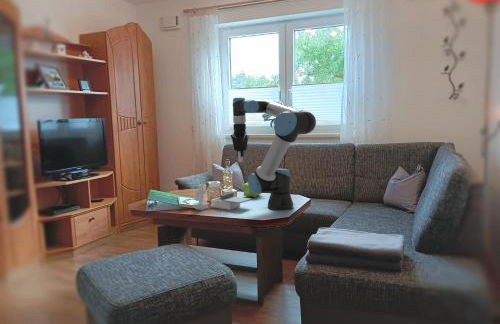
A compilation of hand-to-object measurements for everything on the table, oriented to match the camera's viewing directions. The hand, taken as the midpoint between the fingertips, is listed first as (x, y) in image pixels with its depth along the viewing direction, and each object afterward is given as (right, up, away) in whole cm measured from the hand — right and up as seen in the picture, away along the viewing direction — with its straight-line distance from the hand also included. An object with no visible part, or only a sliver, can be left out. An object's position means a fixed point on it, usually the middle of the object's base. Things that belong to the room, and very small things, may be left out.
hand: (240, 161), depth 224 cm
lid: (-3, -22, -10) cm, 25 cm away
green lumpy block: (+8, -24, +25) cm, 35 cm away
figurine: (-23, -28, -9) cm, 38 cm away
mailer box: (-9, -27, -5) cm, 29 cm away
